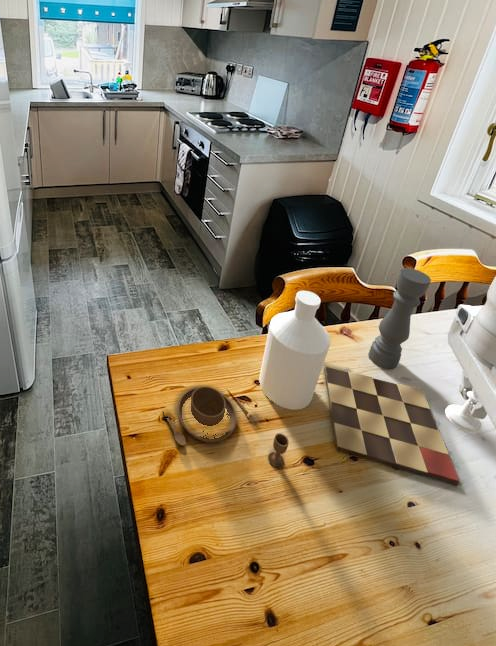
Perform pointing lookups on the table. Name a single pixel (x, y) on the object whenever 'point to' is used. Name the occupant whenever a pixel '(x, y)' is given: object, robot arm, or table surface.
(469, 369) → the robot arm
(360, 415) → the board
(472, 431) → the chess piece
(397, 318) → the candle holder
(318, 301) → the bottle
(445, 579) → the table surface
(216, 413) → the place setting
